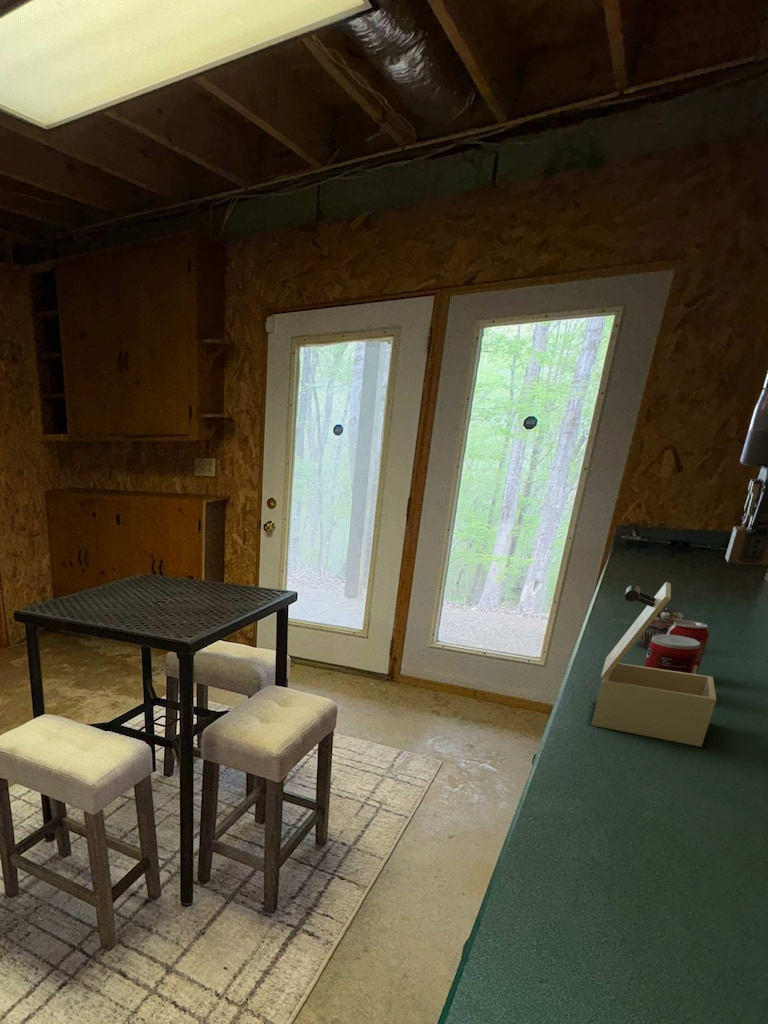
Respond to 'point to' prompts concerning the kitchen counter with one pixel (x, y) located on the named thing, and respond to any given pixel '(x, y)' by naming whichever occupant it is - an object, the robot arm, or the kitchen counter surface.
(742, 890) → the kitchen counter surface
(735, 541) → the block
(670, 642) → the canned food
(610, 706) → the bin
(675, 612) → the cupcake
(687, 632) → the soda can
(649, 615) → the bin lid
